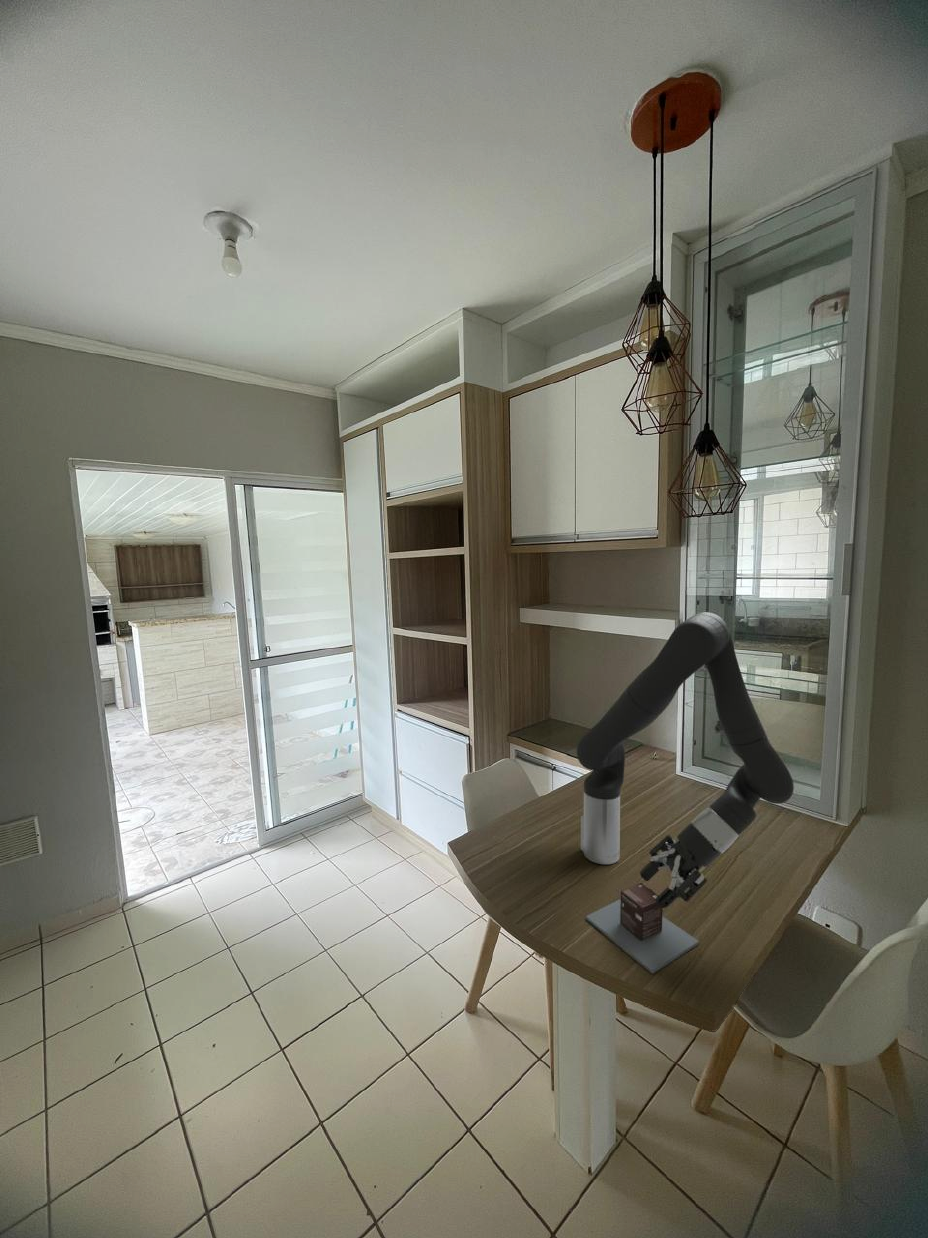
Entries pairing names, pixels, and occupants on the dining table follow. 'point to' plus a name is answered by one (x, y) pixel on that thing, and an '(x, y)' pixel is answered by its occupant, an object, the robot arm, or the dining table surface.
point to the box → (640, 911)
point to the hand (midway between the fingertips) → (650, 890)
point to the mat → (648, 951)
